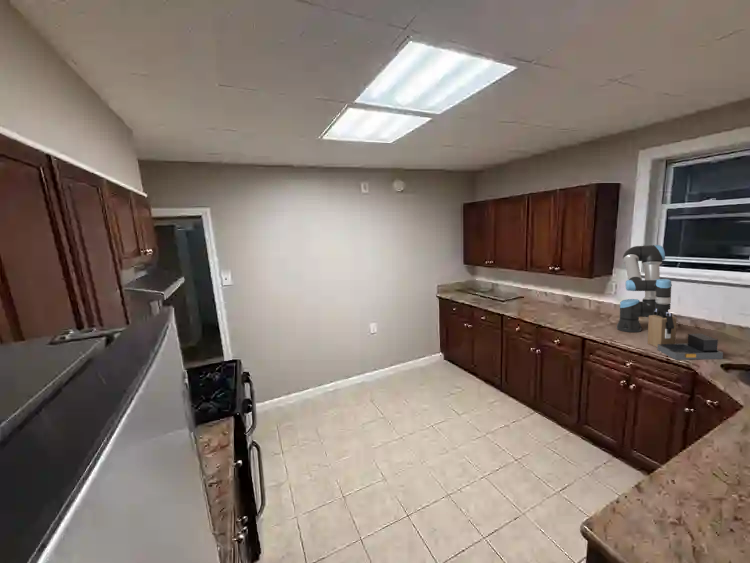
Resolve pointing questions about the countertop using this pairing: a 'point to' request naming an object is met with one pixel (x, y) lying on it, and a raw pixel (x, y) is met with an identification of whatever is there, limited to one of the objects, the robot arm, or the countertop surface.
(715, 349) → the rack
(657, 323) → the wooden block
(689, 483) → the countertop surface
